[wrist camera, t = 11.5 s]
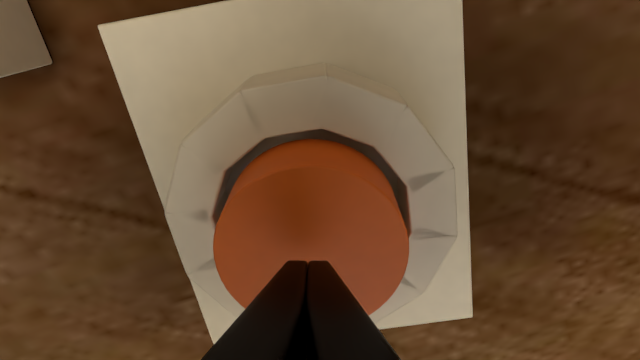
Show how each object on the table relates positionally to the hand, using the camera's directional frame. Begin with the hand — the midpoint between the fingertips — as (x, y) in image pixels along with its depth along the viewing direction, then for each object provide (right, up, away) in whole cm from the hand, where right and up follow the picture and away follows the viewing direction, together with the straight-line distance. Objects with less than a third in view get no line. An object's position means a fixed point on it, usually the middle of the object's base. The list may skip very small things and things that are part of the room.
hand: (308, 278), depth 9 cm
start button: (0, +1, +2) cm, 2 cm away
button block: (0, +2, +6) cm, 6 cm away
